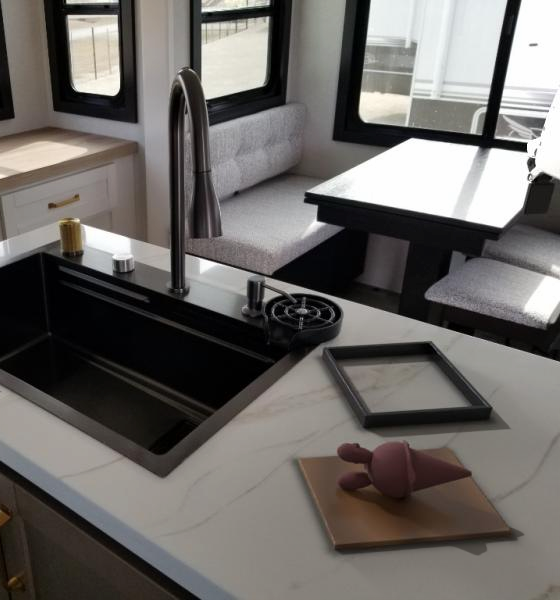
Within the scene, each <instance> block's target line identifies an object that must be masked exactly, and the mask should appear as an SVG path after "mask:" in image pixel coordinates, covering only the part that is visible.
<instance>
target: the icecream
mask: <svg viewBox="0 0 560 600" xmlns="http://www.w3.org/2000/svg"><path fill="white" fill-rule="evenodd" d="M417 450H418V449H415V448H411V447H410V443H409V442H408V441H407V440H405V439H403V440H402V442H400V441H397V440H396V441H387V442H385V443H382V444H379V445H378V446H377V447H376V448H374V449H373V450H372V451H371V450H369V449H368V448H366V447H363V446H360V444H359V443H358V442H353V443H349V442H346V443H345V442H344V443H342V444H340V445H339V446H338V447H337V449H336V454H337V456H339V457H340V459H342V460H344V461H346V462H350V463H355V464H358V463H359V464H363V466H364V468H365V469H366V470H367V473H366V472H363V471H351V472H347V473H343V474H341V475H340V476H339V477H338V479H337V482H338V485H339V486H340V487H342V488H343V489H350V490H355V489H360V488H365V487H367V486H369V485H371V484H372V485H373V486H374V487H375V488H376V489H377V490H378V491H379V492H381V493H383V494H385V495H387V496H391V497H396V498H402V497H405V498H406V499H407V500H408V501H410V500H411V498H412V495H411V492H415V491H419V490H422V489H426V488H429V487H433V486H437V485H440V484H444V483H447V482H451V481H455V480H459V479H463V478H467V477H472V475H473V474H472V471H471V470H469V469H467V468H465V467H463V468H462V467H459V466H457V465H454V464H452V463H449V462H446V461H444V460H441V459H438V458H436V457H433V456H430V455H428V454H425V453H423V452H420V451H417Z"/></svg>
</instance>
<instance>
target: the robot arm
mask: <svg viewBox="0 0 560 600" xmlns="http://www.w3.org/2000/svg"><path fill="white" fill-rule="evenodd" d="M526 166H527V170H528V173H527V175H526V181H527V182H528V184H527V188H526V193H525V197H524V201H523V204H522V208H521V213H522V214H524V215H544V214H547V213H548V212H549V209H550V205H551V202H552V198H553V194H554V191H555V187H556V182H553V180H555V179H556V180H558V181H560V85H559V87H558V89H557V92H556V94H555V96H554V98H553V100H552V103H551V105H550V108H549V111H548V113H547V116H546V119H545V122H544V125H543V127H542V130H541V134H540V137H538V138H535V139H533V140H530V141H528V143H527V161H526Z"/></svg>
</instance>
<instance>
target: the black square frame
mask: <svg viewBox="0 0 560 600" xmlns="http://www.w3.org/2000/svg"><path fill="white" fill-rule="evenodd" d="M417 355H427V356H428V357H429V358H430V359H431V360H432V361H433V362H434V364H435V365H436V366H437V367H438V369H440V371H441V372H442V373H443V374H444V375H445V376H446V377H447V378H448V379H449V381H450V382H451V383H452V384H453V385H454V387H455V388H456V389H457V390H458V391H459V392H460V394H462V395H463V397H464V398H465V399H466V400H467V401H468V403H470V405H467V406H453V407H441V408H440V407H437V408H423V409H409V410H407V409H406V410H393V411H378V412H377V411H375V412H368V411H367V409H366V407H365V406H364V404H363V403H362V401H361V399H360V398H359V397H358V394H357V393H356V391H355V390H354V388H353V386H352V385H351V384H350V382H349V380H348V379H347V377H346V376H345V374H344V372H343V370H342V369H341V367H340V366H339V364H338V363H337V361H336V360H350V359H351V360H353V359H369V358H384V357H386V358H387V357H401V356H402V357H404V356H417ZM321 360H322V361H323V363H324V364H325V366H326V367H327V370H328V371H329V373H330V374H331V376H332V378H333V380H334V381H335V383H336V385H337V386H338V388H339V390H340V392H341V393H342V395H343V396H344V398H345V400H346V402H347V403H348V405H349V407H350V408H351V410H352V411H353V414H354V415H355V417H356V418H357V421H358V422H359V424H360V425H361V427H362V428H363V429H374V428H375V429H376V428H388V427H405V426H419V425H433V424H448V423H462V422H463V423H464V422H477V421H478V422H479V421H489V420H490V418H491V415H492V412H493V406H492V405H491V404H490V403H489V402H488V401H487V399H486V398H485V397H484V396H483V395H482V394H481V393H480V392H479V390H478V389H477V388H475V386H473V384H472V383H471V382H470V381H469V380H468V379H467V378H466V376H464V375H463V373H462V372H461V371H459V369H458V368H457V367H456V366H455V364H453V363H452V362H451V360H450V359H448V357H447V356H446V355H445V354H444V353H443V352H442V350H440V349H439V347H438V346H437V345H436V344H435V343H434V342H433V341H432V340H427V341H426V340H423V341H406V342H405V341H404V342H389V343H388V342H387V343H373V344H354V345H338V346H337V345H336V346H324V347H323V348H322V356H321Z"/></svg>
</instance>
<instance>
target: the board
mask: <svg viewBox="0 0 560 600" xmlns="http://www.w3.org/2000/svg"><path fill="white" fill-rule="evenodd" d="M416 450H417V451H420V452H423V453H425V454H428V455H430V456H433V457H436V458H438V459H441V460H444V461H446V462H449V463H452V464H454V465H457V466H459V467H462V468H464V466H463V465H462V464H461V462H460V461H459V460H458V458H457V457H456V455H455V454H454V453H453V451H452V450H451V449H450V448H449V447H441V448H428V449H427V448H426V449H425V448H424V449H416ZM297 462H298V465H299V468H300V471H301V472H302V476H303V477H304V480H305V483H306V485H307V488H308V490H309V492H310V494H311V495H310V496H311V497H312V500H313V502H314V504H315V506H316V509H317V511H318V513H319V516H320V518H321V521H322V523H323V525H324V528H325V531H326V533H327V535H328V538H329V540H330V542H331V545H332V547H333V550H334V551H335V550H346V549H359V548H370V547H372V548H373V547H383V546H395V545H409V544H421V543H433V542H444V541H459V540H470V539H481V538H493V537H504V536H505V537H507V536H510V533H511V529H510V527H509V526H508V525H507V523H506V522H505V521H504V520H503V518H502V517H501V516H500V514H499V513H498V512H497V510H496V509H495V508H494V506H493V505H492V503H491V502H490V501H489V500H488V498H487V497H486V495H485V494H484V493H483V492H482V490H481V489H480V488H479V486H478V485H477V483H476V482H475V481H474V479H473V478H472V476H470V477H467V478H463V479H459V480H455V481H451V482H447V483H444V484H440V485H437V486H433V487H429V488H426V489H422V490H419V491H415V492H411V495H412V498H411V500H410V501H408V500H407V499H406V498H405V497H402V498H396V497H391V496H387V495H385V494H383V493H381V492H379V491H378V490H377V489H376V488H375V487H374V486H373V485H372V484H371V485H369V486H367V487H365V488H360V489H355V490H350V489H343V488H342V487H340V486H339V485H338V482H337V479H338V477H339V476H340V475H341V474H343V473H347V472H351V471H363V472H366V473H367V470H366V469H365V468H364V466H363V464H359V463H358V464H355V463H350V462H346V461H344V460H342V459H340V457H339V456H338V455H329V456H328V455H327V456H313V457H299V458H298V461H297Z"/></svg>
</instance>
